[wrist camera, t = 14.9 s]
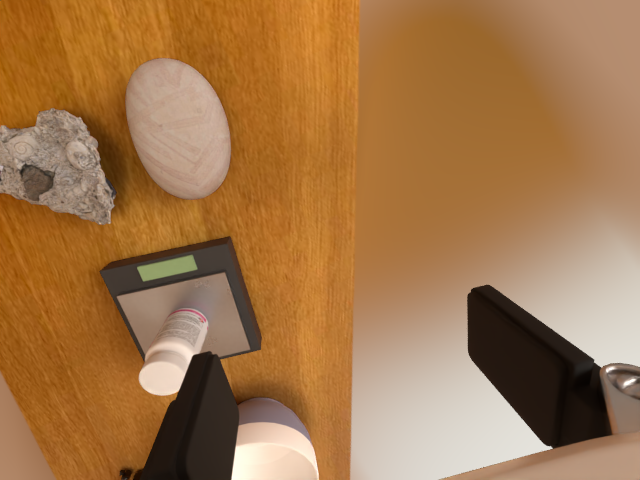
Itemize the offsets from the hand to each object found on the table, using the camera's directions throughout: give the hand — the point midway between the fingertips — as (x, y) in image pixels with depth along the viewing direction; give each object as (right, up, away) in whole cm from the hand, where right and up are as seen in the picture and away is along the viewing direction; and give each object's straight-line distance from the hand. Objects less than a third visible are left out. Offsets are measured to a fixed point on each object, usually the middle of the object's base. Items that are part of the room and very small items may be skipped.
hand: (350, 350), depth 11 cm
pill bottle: (-17, -6, +25) cm, 30 cm away
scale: (-17, -4, +27) cm, 32 cm away
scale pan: (-17, -6, +25) cm, 31 cm away
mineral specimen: (-27, +12, +20) cm, 36 cm away
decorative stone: (-15, +15, +21) cm, 30 cm away
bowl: (-10, -23, +35) cm, 44 cm away
